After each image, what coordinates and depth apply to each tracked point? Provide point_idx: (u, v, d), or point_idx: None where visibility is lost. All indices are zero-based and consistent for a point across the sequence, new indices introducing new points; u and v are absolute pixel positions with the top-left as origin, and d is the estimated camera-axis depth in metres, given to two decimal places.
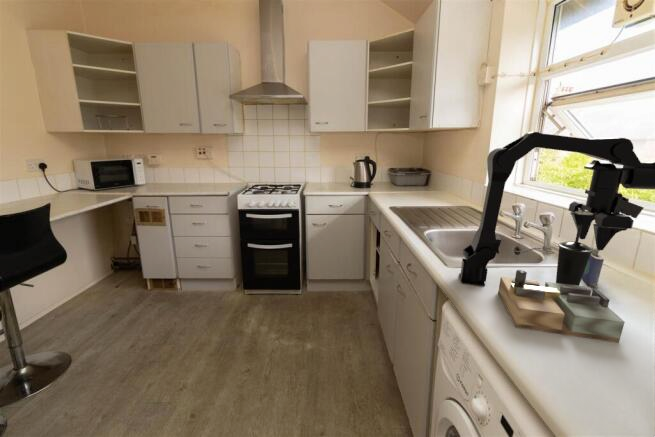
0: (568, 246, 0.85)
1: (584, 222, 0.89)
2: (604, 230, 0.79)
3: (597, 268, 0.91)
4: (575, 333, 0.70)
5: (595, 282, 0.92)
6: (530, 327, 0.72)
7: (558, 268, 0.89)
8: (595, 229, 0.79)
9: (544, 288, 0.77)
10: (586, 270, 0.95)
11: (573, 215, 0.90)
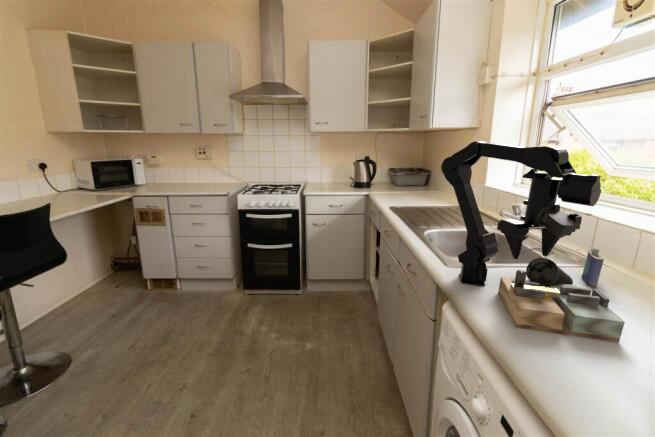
0: (541, 282, 0.82)
1: (548, 238, 0.81)
2: (513, 237, 0.79)
3: (597, 268, 0.91)
4: (575, 333, 0.70)
5: (595, 282, 0.92)
6: (530, 327, 0.72)
7: None
8: None
9: (544, 288, 0.77)
10: (586, 270, 0.95)
11: None
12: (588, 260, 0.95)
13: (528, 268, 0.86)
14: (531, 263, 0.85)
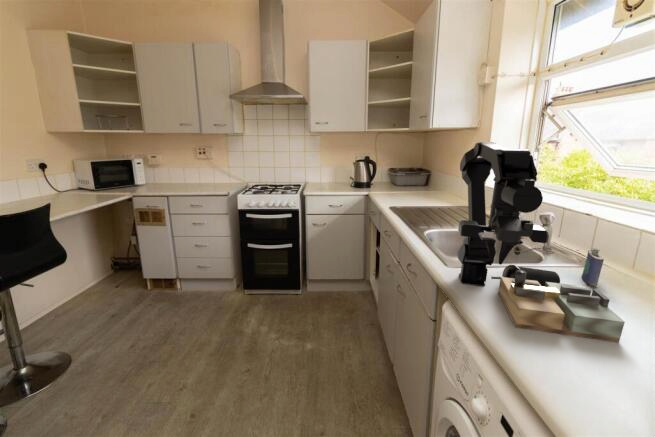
0: None
1: (503, 245, 0.77)
2: None
3: (597, 268, 0.91)
4: (575, 333, 0.70)
5: (595, 282, 0.92)
6: (530, 327, 0.72)
7: (540, 283, 0.88)
8: None
9: (544, 288, 0.77)
10: (586, 270, 0.95)
11: None
12: (588, 260, 0.95)
13: None
14: None
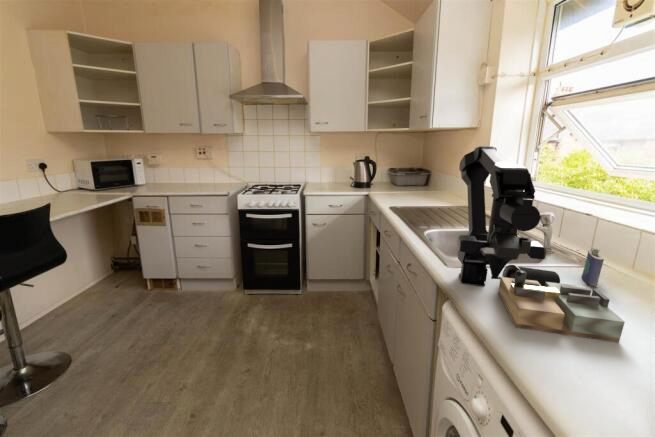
0: None
1: (498, 260, 0.79)
2: None
3: (597, 268, 0.91)
4: (575, 333, 0.70)
5: (595, 282, 0.92)
6: (530, 327, 0.72)
7: (540, 283, 0.88)
8: None
9: (544, 288, 0.77)
10: (586, 270, 0.95)
11: None
12: (588, 260, 0.95)
13: None
14: None
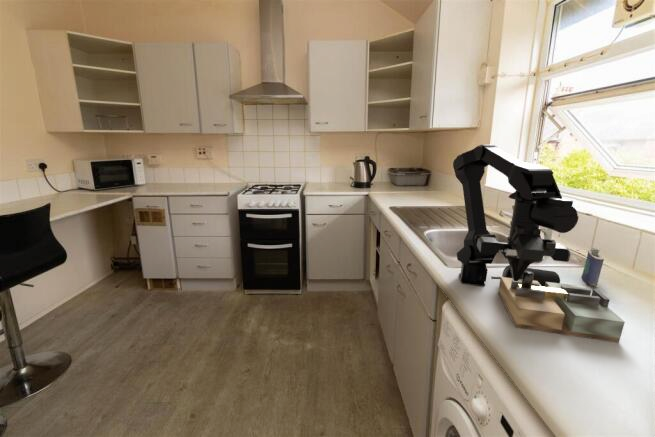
0: None
1: (520, 262, 0.77)
2: None
3: (597, 268, 0.91)
4: (575, 333, 0.70)
5: (595, 282, 0.92)
6: (530, 327, 0.72)
7: (540, 283, 0.88)
8: None
9: (551, 289, 0.77)
10: (586, 270, 0.95)
11: None
12: (588, 260, 0.95)
13: None
14: None
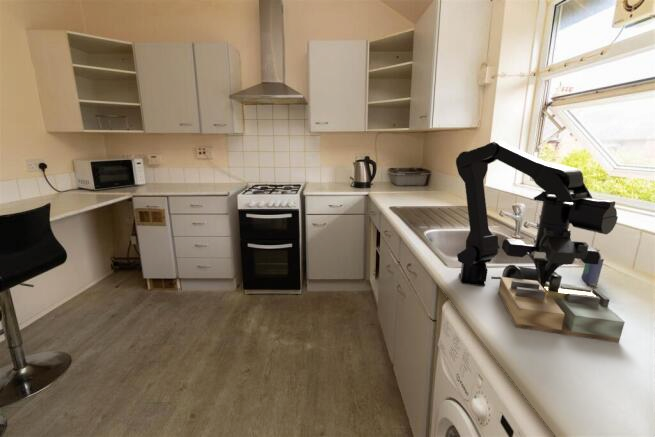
0: (518, 276, 0.87)
1: (547, 264, 0.76)
2: None
3: (597, 268, 0.91)
4: (575, 333, 0.70)
5: (595, 282, 0.92)
6: (530, 327, 0.72)
7: None
8: None
9: (579, 292, 0.75)
10: (586, 270, 0.95)
11: None
12: None
13: None
14: None
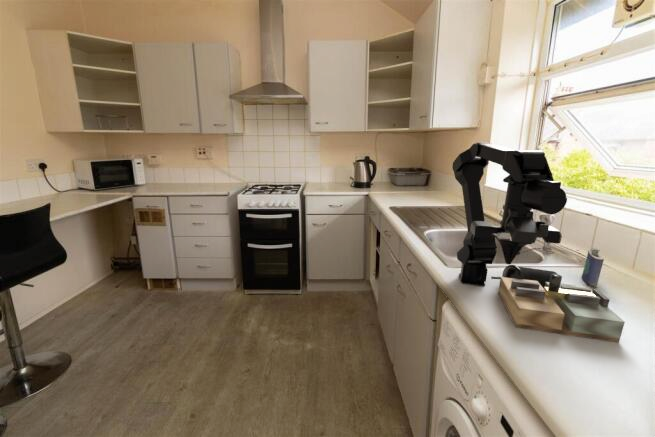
0: (518, 276, 0.87)
1: (512, 245, 0.78)
2: None
3: (597, 268, 0.91)
4: (575, 333, 0.70)
5: (595, 282, 0.92)
6: (530, 327, 0.72)
7: (540, 283, 0.88)
8: None
9: (580, 292, 0.75)
10: (586, 270, 0.95)
11: None
12: (588, 260, 0.95)
13: None
14: None
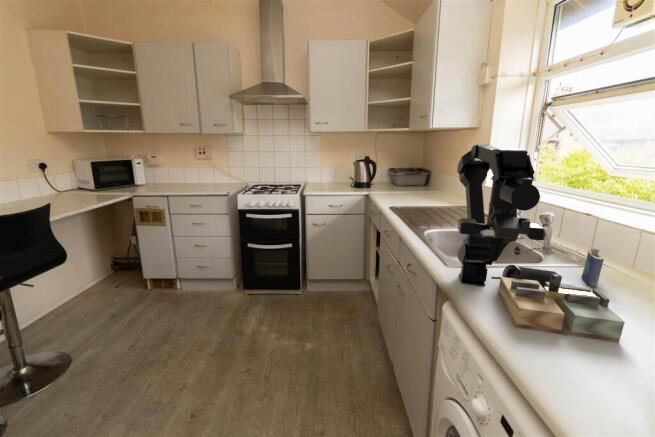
0: (518, 276, 0.87)
1: (498, 242, 0.79)
2: None
3: (597, 268, 0.91)
4: (575, 333, 0.70)
5: (595, 282, 0.92)
6: (530, 327, 0.72)
7: (540, 283, 0.88)
8: None
9: (580, 292, 0.75)
10: (586, 270, 0.95)
11: None
12: (588, 260, 0.95)
13: None
14: None
